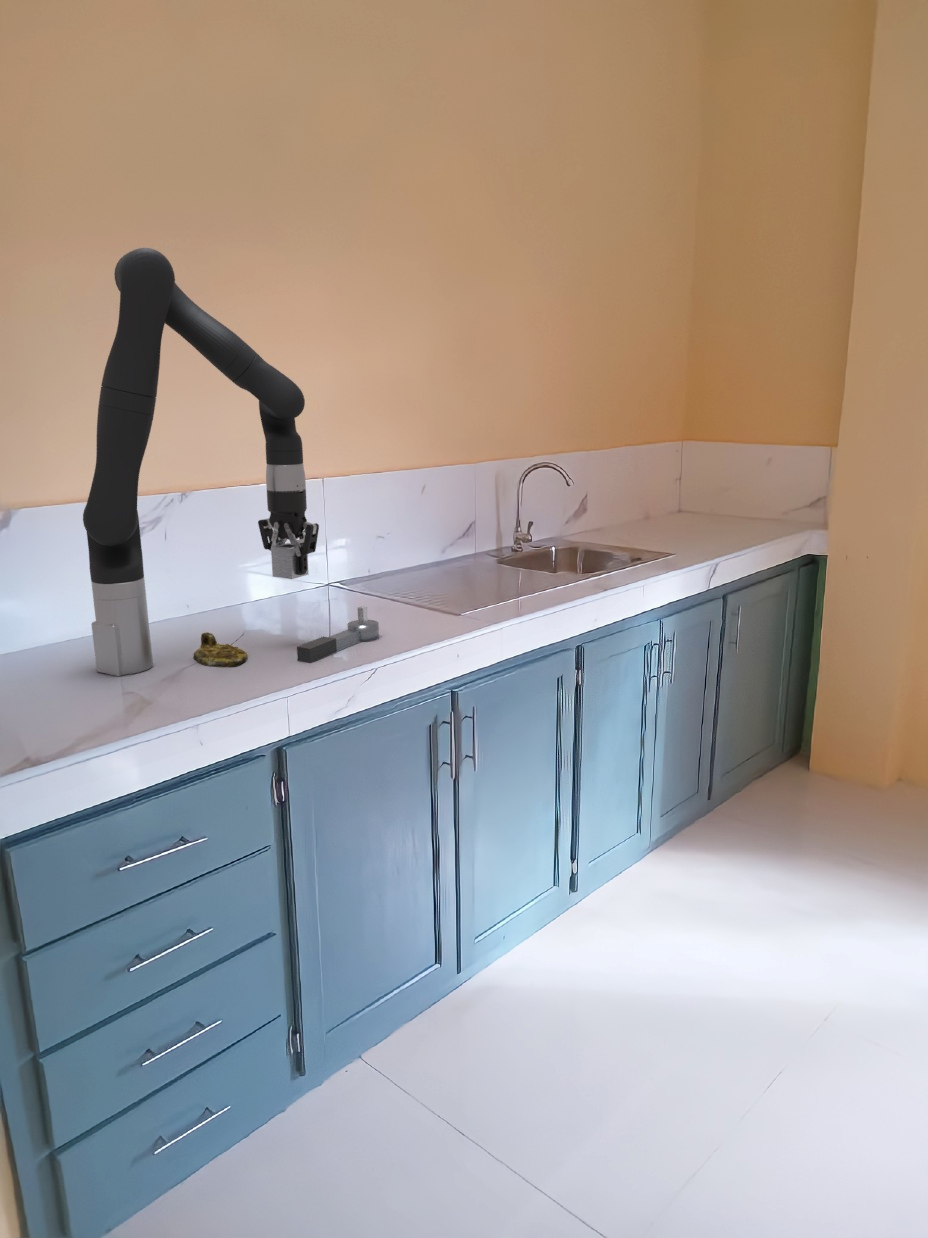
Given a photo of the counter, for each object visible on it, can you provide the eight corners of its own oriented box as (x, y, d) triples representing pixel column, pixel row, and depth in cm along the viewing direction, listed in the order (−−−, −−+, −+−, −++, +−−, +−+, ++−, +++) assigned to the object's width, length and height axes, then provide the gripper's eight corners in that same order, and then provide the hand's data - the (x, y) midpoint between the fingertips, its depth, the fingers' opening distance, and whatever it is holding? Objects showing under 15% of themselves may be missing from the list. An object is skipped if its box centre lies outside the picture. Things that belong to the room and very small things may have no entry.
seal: (261, 667, 181) (222, 651, 192) (262, 643, 180) (223, 628, 191) (217, 673, 175) (179, 655, 186) (217, 648, 174) (180, 632, 185)
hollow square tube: (292, 579, 184) (290, 548, 183) (272, 576, 187) (270, 546, 185) (308, 574, 188) (307, 544, 187) (289, 572, 191) (287, 542, 189)
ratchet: (360, 631, 200) (359, 602, 198) (385, 635, 197) (384, 605, 195) (291, 659, 182) (289, 626, 180) (317, 664, 178) (315, 631, 177)
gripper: (245, 487, 183) (250, 572, 188) (302, 491, 176) (306, 580, 181) (271, 483, 190) (275, 566, 194) (327, 487, 183) (330, 573, 187)
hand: (290, 572), depth 187 cm, fingers closed on hollow square tube, 5 cm apart
